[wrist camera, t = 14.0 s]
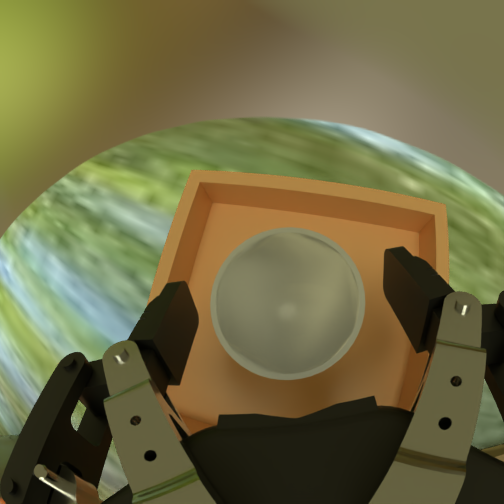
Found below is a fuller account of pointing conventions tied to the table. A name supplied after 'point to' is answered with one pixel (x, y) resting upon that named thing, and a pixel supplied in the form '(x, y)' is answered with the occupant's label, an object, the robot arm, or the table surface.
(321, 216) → the parts tray
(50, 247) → the table surface
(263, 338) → the white domed cylinder
